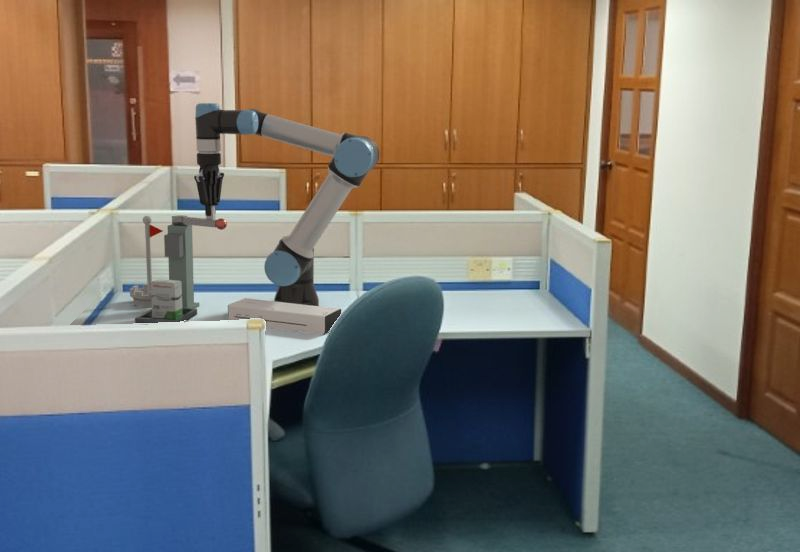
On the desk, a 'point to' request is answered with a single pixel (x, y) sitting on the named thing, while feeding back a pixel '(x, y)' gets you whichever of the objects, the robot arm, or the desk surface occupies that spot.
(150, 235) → the flag stand
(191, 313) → the tray
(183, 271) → the column
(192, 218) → the lever
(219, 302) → the desk surface
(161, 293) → the ink box
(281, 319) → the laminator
